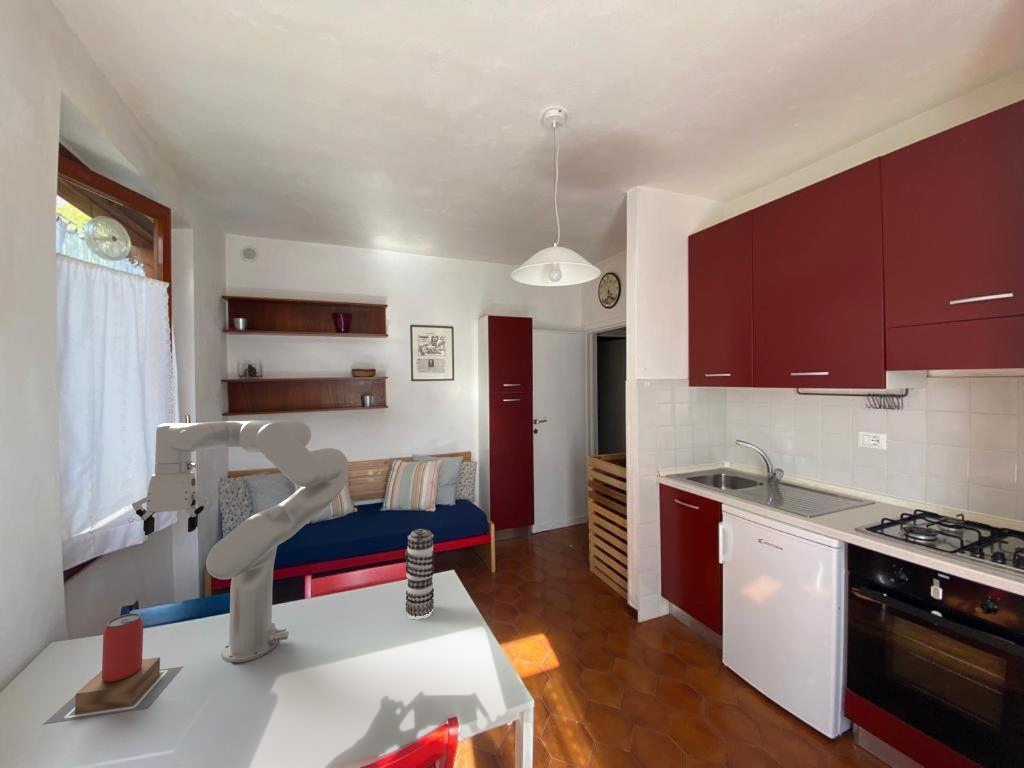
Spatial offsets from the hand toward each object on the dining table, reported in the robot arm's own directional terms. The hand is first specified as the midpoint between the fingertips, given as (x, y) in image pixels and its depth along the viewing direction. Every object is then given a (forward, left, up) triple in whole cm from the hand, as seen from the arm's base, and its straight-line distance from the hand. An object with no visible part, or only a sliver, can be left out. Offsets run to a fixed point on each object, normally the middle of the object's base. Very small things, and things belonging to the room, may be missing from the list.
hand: (170, 532), depth 111 cm
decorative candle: (-66, -1, -30) cm, 73 cm away
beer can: (0, +19, -26) cm, 32 cm away
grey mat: (0, +19, -30) cm, 35 cm away
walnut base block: (0, +19, -30) cm, 35 cm away
